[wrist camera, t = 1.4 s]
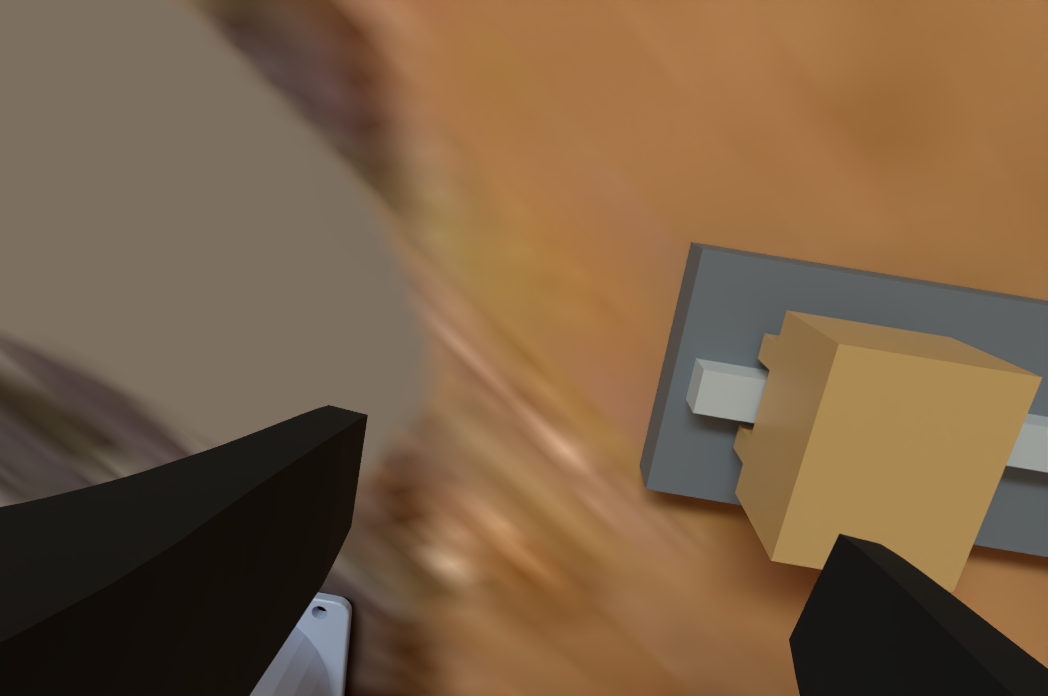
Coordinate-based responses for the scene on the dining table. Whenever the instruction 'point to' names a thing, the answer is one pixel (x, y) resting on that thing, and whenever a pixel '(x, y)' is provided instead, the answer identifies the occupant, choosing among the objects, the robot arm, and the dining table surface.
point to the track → (787, 284)
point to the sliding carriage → (877, 442)
